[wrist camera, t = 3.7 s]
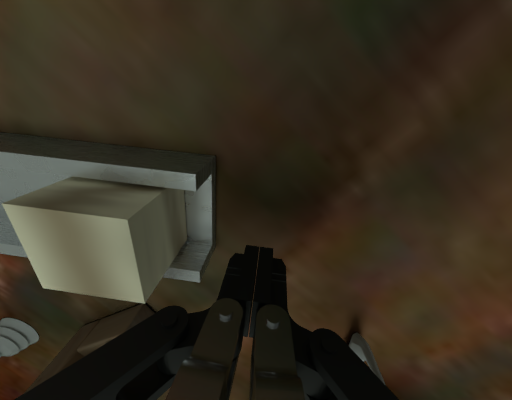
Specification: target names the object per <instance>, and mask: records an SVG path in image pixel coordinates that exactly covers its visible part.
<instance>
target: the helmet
mask: <svg viewBox="0 0 512 400" xmlns="http://www.w3.org/2000/svg"><path fill="white" fill-rule="evenodd" d="M349 347H350V348H351V349H352V350H353V351H354V352H355V353H356V354H357V355H358V357H359V358H360V359H361V360H362V361H363V362H364V360H365V361H367V363H368V365H369V367H370V369H371V370H372V372H373V373H374V374H375V375H376V376H377V377H378V378H379V379H380V380H381V381H382V382H383V383H384V384H385V382H384V380H383V378H382V375H381V373H380V370H379V368H378V366H377V363H376V361H375V358H374V356H373V354H372V351H371V349H370V346H369V344H368V343H367V342H366V341H365V339H364V338H363V337H362V336H361V335H360V334H358V333H355V334H353V335H352V338H351V341H350V343H349Z"/></svg>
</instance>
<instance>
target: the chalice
mask: <svg viewBox="0 0 512 400" xmlns="http://www.w3.org/2000/svg"><path fill="white" fill-rule="evenodd" d="M38 340H39V336H38V334H37V332H36V331H35V330H34V329H33V328H32V327H31V326H29V325H28V324H26V323H24V322H22V321H20V320H17V319H13V318H4V319H2V320H1V321H0V357H1V356H12V355H14V354H17V353H18V352H19V351H21V350H23V349H25V348H27V347H28V346H29V345H31V344H33V343H36V342H37V341H38Z"/></svg>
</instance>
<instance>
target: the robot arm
mask: <svg viewBox="0 0 512 400" xmlns="http://www.w3.org/2000/svg"><path fill="white" fill-rule="evenodd" d="M258 252H259V247H257V246H250V245H246V248H245V253H244V254H238V253H235V254H234V255H233V256H232V257H231V258H230V260H229V263H228V267H227V270H226V274H225V276H224V279H223V283H222V286H221V289H220V292H219V296H218V298H217V301H216V302H215V303H214V304H213V305H212V306H211V307H210V308H208V309H206V310H204V311H201V312H195V313H189V314H188V313H187V311H186V310H185V309H184V308H182V307H180V306H168V307H165V308H163V309H161V310H160V311H158V312H156V313H155V314H153V315H152V316H150V317H148V318H147V319H145V320H143V321H142V322H140V323H138V324H137V325H135V326H134V327H132V328H130V329H129V330H127V331H125V332H124V333H122V334H121V335H119V336H117V337H116V338H114V339H112V340H111V341H109V342H107V343H106V344H104V345H103V346H101V347H99V348H98V349H96V350H94V351H93V352H91V353H90V354H88V355H86V356H85V357H83V358H81V359H80V360H78V361H77V362H75V363H73V364H72V365H70V366H68V367H67V368H65V369H63V370H62V371H60V372H59V373H57V374H55V375H54V376H52V377H50V378H49V379H47V380H46V381H44V382H42V383H41V384H39V385H37V386H36V387H34V388H32V389H31V390H29V391H28V392H26V393H24V394H23V395H21V396H19V397H18V398H16V399H15V400H156V399H158V398H159V397H160V396H161V395H162V394H163V393H164V392H165V391H167V390H168V389H169V388H170V387H171V388H170V390H169V392H168V395H167V397H166V399H165V400H229V397H230V393H231V388H232V384H233V380H234V375H235V371H236V367H237V362H238V358H239V353H240V351H241V347H242V340H243V336H245V337H248V330H249V323H250V315H251V308H252V316H251V324H250V333H249V337H253V345H252V354H251V370H250V395H249V400H399V399H398V398H397V397H396V396H395V395H394V394H393V393H392V392H391V391H390V390H389V389H388V388H387V386H386V385H385V384H384V383H383V382H382V381H381V380H380V379H379V378H378V377H377V376H376V375H375V374H374V373H373V372H372V370H371V369H370V368H369V367H368V366H367V365H366V364H365V363H364V362H363V361H362V360H361V359H360V358H359V357H358V355H357V354H356V353H355V352H354V351H353V350H352V349H351V348H350V347H349V346H348V345H347V344H346V343H345V342H344V341H343V339H342V338H341V337H340V336H339V335H337V334H336V333H335V332H333V331H331V330H329V329H324V328H320V329H317V330H315V331H314V332H311V331H309V330H307V329H305V328H303V327H301V326H299V325H298V324H296V323H295V322H294V321H293V320H292V318H291V317H290V315H289V313H288V309H287V286H286V266H285V264H284V262H283V261H282V259H276V258H273V248H265V247H260V253H259V260H258ZM257 261H258V268H257ZM256 270H257V276H256ZM255 278H256V283H255ZM254 285H255V291H254ZM253 293H254V299H253ZM252 300H253V307H252Z"/></svg>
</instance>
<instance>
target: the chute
mask: <svg viewBox="0 0 512 400" xmlns="http://www.w3.org/2000/svg"><path fill="white" fill-rule="evenodd" d="M72 176H73V177H82V178H90V179H98V180H107V181H115V182H123V183H131V184H140V185H148V186H156V187H165V188H173V189H181V190H184V199H185V213H186V228H187V240H186V242H185V243H184V245H183V246H182V248H181V249H180V251H179V252H178V254H177V256H176V257H175V259H174V260H173V262H172V263H171V265H170V266H169V268H168V269H167V271H166V272H165V274H164V275H163V277H166V278H173V279H180V280H186V281H193V282H200V281H201V279H202V277H203V274H204V272H205V270H206V268H207V265H208V263H209V261H210V258H211V256H212V254H213V251H214V249H215V247H216V156H211V155H202V154H193V153H184V152H175V151H166V150H157V149H148V148H139V147H130V146H121V145H112V144H103V143H94V142H85V141H75V140H66V139H57V138H48V137H39V136H30V135H21V134H12V133H3V132H0V254H7V255H14V256H21V257H28V256H27V254H26V252H25V250H24V248H23V246H22V244H21V242H20V240H19V238H18V236H17V234H16V232H15V230H14V228H13V226H12V223H11V221H10V219H9V217H8V215H7V213H6V211H5V209H4V207H3V205H2V203H4V202H7V201H9V200H12V199H15V198H17V197H20V196H22V195H25V194H28V193H30V192H33V191H35V190H38V189H41V188H43V187H46V186H49V185H51V184H54V183H56V182H59V181H62V180H64V179H67V178H69V177H72Z"/></svg>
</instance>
